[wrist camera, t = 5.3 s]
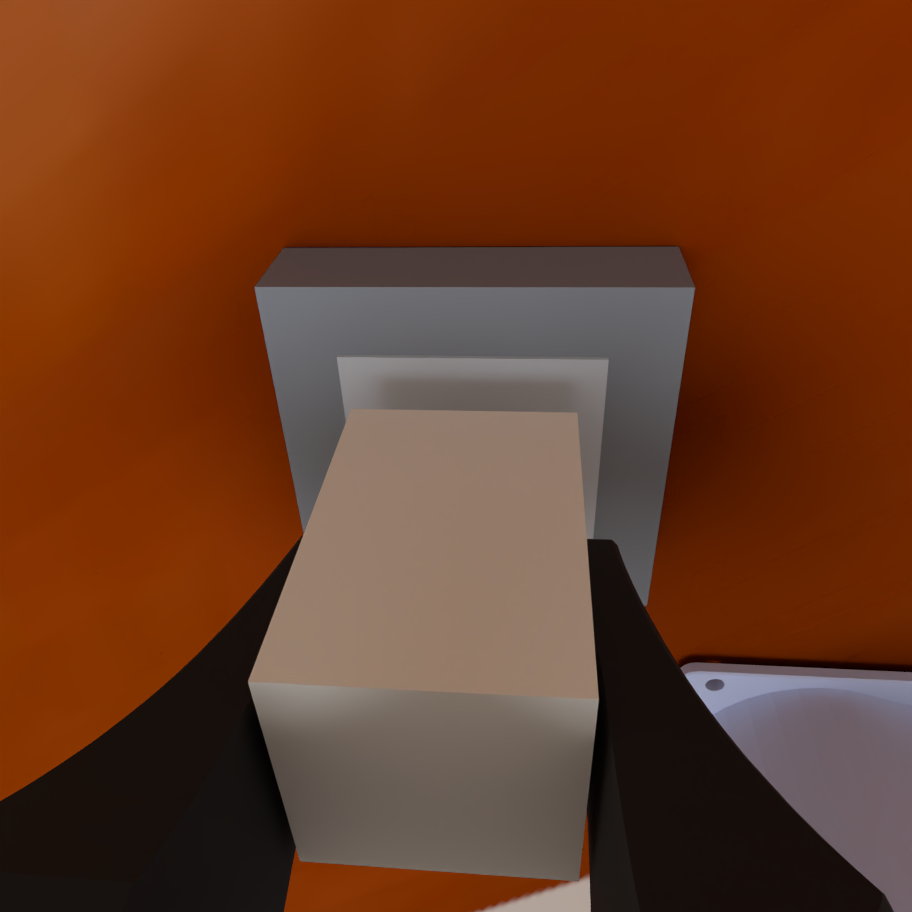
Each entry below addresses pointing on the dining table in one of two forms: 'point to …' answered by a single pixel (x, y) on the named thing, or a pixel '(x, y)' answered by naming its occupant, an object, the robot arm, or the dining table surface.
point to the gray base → (490, 357)
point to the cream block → (438, 649)
